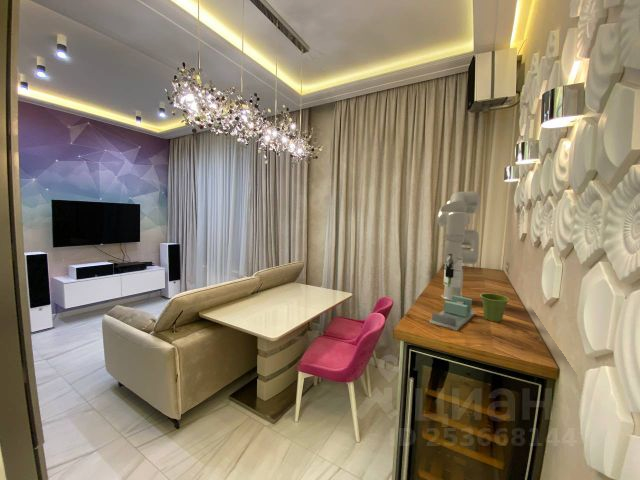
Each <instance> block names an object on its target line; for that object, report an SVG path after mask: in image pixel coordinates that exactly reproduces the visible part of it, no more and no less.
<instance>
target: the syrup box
mask: <svg viewBox="0 0 640 480" xmlns="http://www.w3.org/2000/svg"><path fill="white" fill-rule="evenodd" d="M462 260H463V257H458V260H457V263H455V264H454V266H453V269H454V273H453V278H450V277H446V263H445V262H444V269H443V271H444V273H443V285H444V286H445V285H446V286H447V287H460V286H461V274H462V269H463V263H462ZM450 262H453V261H452V258H451V260H450ZM451 266H452V264H451Z"/></svg>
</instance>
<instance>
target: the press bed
mask: <svg viewBox="0 0 640 480" xmlns="http://www.w3.org/2000/svg"><path fill="white" fill-rule="evenodd" d="M474 314H476V311H475V310H472V309H471V311H467V316H466V317H463V316H459V315H456V314H452V313H448V312H444V309H443V310H442V311H440V312H439V313H436V312H433V313H432V314H431V318H430V319H429V324H433V325H435V326H440V327H443V328H446V329H450V330H453V331H459V329H461V328H462V327H463V326H464V324H466V323H467V322H468V321H469V320H470V319H472V317H474V316H475V315H474Z"/></svg>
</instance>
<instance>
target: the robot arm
mask: <svg viewBox="0 0 640 480" xmlns="http://www.w3.org/2000/svg"><path fill="white" fill-rule="evenodd" d="M480 204H481V196H480V194H479V193H478V192H477V191H456V192H454V193H452V195H451V196H450V199H448V200H447V201H446V203H445V204H444V205H442V206H441V207H440V208H439V209H438V213H437V216H436V223H437V225H438V227H443V228H444V227H445V228H446V229H445V230H446V231H445V233H446V234H445V242H446V244H445V249H444V256H443V257H444V258H443V262H444V264H445V263H446V277H450V278H453V273H454V269H453V266H454V264H455V263H457V260H458V257H463V260H462V264H466V265H475V264H477V263H478V261H479V251H480V250H479V248H480V247H479V246H480V235H479V232H478V231H477V230H475V229H466V227H467V226H469V224H470V222H471V217H470V215H472V214H477V213H478V212H479V209H480V206H481V205H480ZM463 246H469V247H463ZM451 258H452V261H453V262H450V260H451ZM451 264H452V266H451ZM463 279H464V269H463V268H462V274H461V286H460V287H447V286H446V285H444V288H443V289H444V290H443V291H444V292H443V293H442V294H441V296H440V297H441V298H442V299H443V300H445V301H451V302H452V296H453V295H455V296H460V297H464V296H462V295H463V281H464V280H463Z"/></svg>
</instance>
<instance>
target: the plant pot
mask: <svg viewBox="0 0 640 480" xmlns="http://www.w3.org/2000/svg"><path fill="white" fill-rule="evenodd" d="M479 295H480V297H481V302H482V309H483V318H484V319H485V320H489V321H490V322H495V323H499V322H502V320H503V317H504V313H505V309H506V307H507V305H508V302H509V301H510V298H509V297H507V296H505V295H502V294H497V293H488V292H483V293H481V294H479Z"/></svg>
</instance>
